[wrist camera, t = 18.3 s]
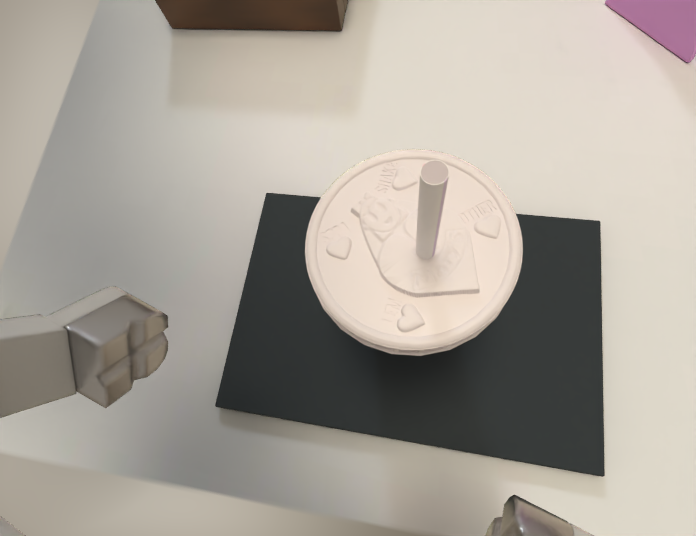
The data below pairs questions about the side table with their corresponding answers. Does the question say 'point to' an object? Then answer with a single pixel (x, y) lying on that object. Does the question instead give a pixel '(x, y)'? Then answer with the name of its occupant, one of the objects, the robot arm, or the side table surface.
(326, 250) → the smoothie
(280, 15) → the crate
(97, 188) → the side table surface
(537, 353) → the mat
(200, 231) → the side table surface
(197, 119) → the side table surface
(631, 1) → the toy chair
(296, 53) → the side table surface
